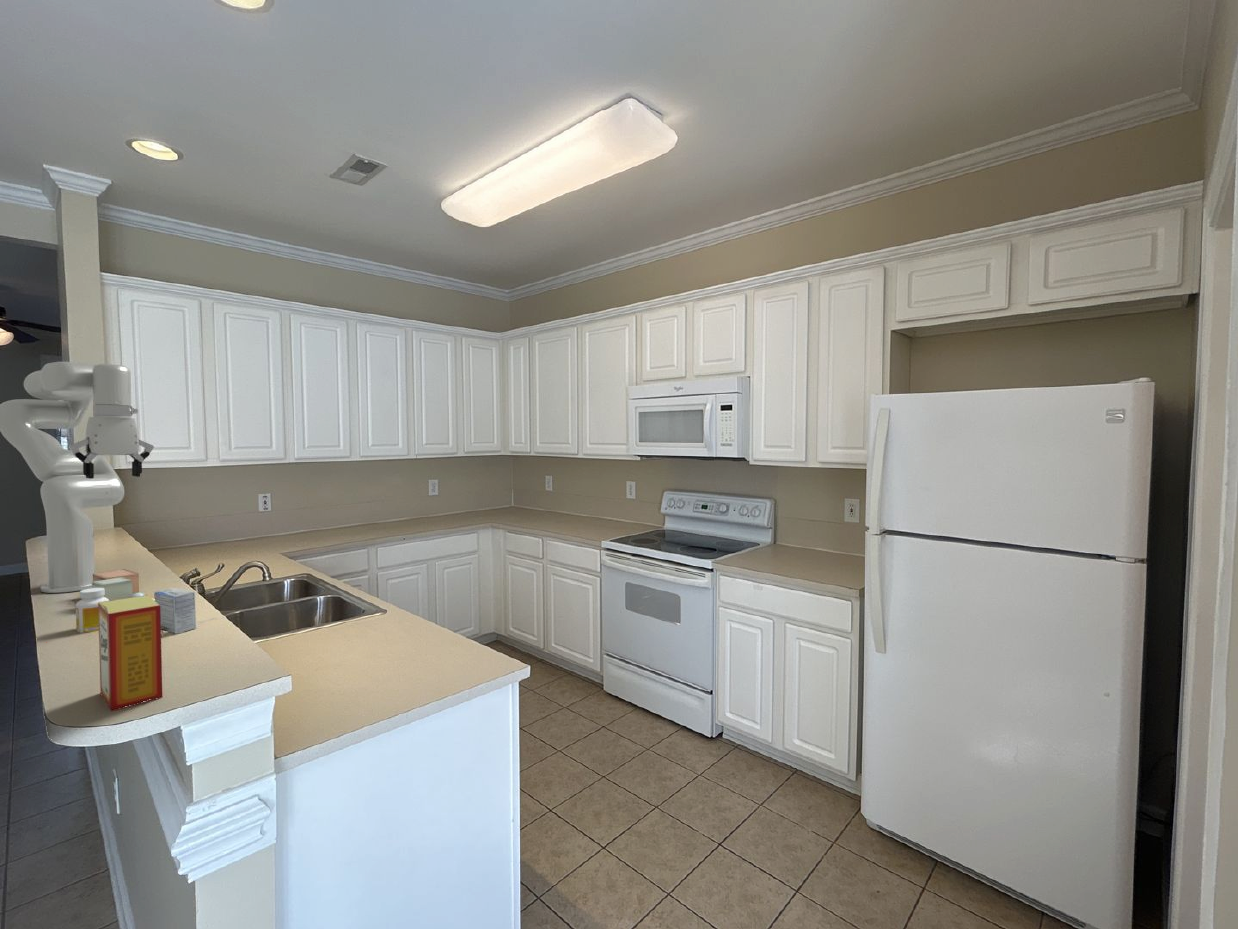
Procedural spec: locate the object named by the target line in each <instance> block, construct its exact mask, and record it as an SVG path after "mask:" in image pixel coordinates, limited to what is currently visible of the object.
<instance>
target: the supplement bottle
mask: <svg viewBox="0 0 1238 929" xmlns="http://www.w3.org/2000/svg"><path fill="white" fill-rule="evenodd" d="M103 595H105V590H104V588H89V589H84V590H79V599H81V598H82V600H80V601H79V602H77V603H76V604H75V618H76V619H75V620H76V621H75V623H76V624H75V626H76V632H77V633H92V632H93V633H94V632H99V618H98V602H105V601H109V600H108V599H107V598H105V597H103Z"/></svg>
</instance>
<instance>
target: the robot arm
mask: <svg viewBox="0 0 1238 929" xmlns="http://www.w3.org/2000/svg"><path fill="white" fill-rule="evenodd" d="M131 373H132V372H131V370H130V368H129V367H127V366H125V365H119V364H110V363H98V364H94V363H85V362H75V361H55V362H49V363H46V364H44V365H43V367H42V368H41V369H40V370H36V371H33V372H31V373H30V374H28V375H27V376H26V377H25V378H24V380H23V388H24V390H25V391H26V392H27V393H28V395H30V396H32V397H33V398H36V399H31V398H29V399H28V398H24V399H23V398H21V399H19V398H18V399H17V398H16V399H11V400H10V399H9V400H7V401H3V402H2V403H0V433H1V434H2V436H3V437H4V439H5V440H7V442H9V444H10V445H12V446H13V448H16V450H17V451H18V452H19V453H20V454H21V456H22V458H23V459H24V460H25V462H26V464H27V465H28V467H29V469H30V470H31V472H32V473H33V474H34V476H35V477H36V478H37V479H38V480H39V481H40V482H42V484H41V486H40V497H41V501H42V505H43V510H44V514H45V521H46V522H45V524H46V548H47V549H46V550H47V551H46V553H47V574H48V575H47V579H48V580H47V581H48V583H44V584H43V585H41V586H40V592H42V593H47V594H49V593H50V594H60V593H70V592H78V591H79V592H80V591H82V590H85V589H90V588H92V582H93V574H95V573H96V571H95V570H96V569H95V568H96V567H95V537H94V533H95V532H94V523H93V521H92V520H91V518H90V517H89V516H88V515H87V514H86V513H85V512H83V509H84V510H85V509H89V508H91V509H92V508H101V507H102V508H103V507H111V506H116V505H117V504H119V503H121V502H122V501H123V499H124V497H125V486H124V484H123V482H122V480H121V478H120V477H119V475H118V474H117V472H116V471H115V469H114V468H113V467H112V465H111V464H110V462H109V460H108V459H107V458H106V456H129V457H130V458H132V462H131V476H133V477H137V478H140V477H141V474H142V472H143V462H144V461H145V460H146V459H147V458H148V457H149V456H150V454H151V453H152V451H153V449H154V448H155V447H154V445H153V444H150V443H148V442H146V441H144V440H141V439H139V433H138V429H137V424H136V420H135V418H133V415H134V414H136V415H137V414H139V413H138V412H139V410H138V408H134V407H133V406H132V377H131V376H132V374H131ZM91 402H92V403H93V404H92V410H93V411H92V412H93V413H92V416H89V417H88V420H87V423H86V430H85V438H84V439H82V440H80V441H77V442H75V443H72V444H70V445H68V449H65V448H64V447H62V444H61V443H60V441H59V440H58V439H56V438H55V437H54V436H52V435H51V434H49V433H47V432H45V431H43V429H45V430H46V429H47V430H49V429H51V430H53V429H54V430H70V429H73V428H74V429H75V428H76V427H78V426H79V425H80V424H81V423H82V420H83V419H84V416H85V414H86V412H87V410H88V409H89V407H90V405H91ZM82 447H84V449H82V450H81V449H80V448H82ZM140 447H143V448H144V449H143V451H142V452H141V453H139V450H140Z"/></svg>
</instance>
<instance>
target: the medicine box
mask: <svg viewBox="0 0 1238 929" xmlns="http://www.w3.org/2000/svg"><path fill="white" fill-rule="evenodd" d="M153 595H154V597H153V598H154V601H155V602H157V603H158V604H159V605H160V611H161V627H164V628H161V631H162V632H166V633H167V632H168V633H170V634H174V635H178V634H181V633H185V632H189V631H192V630H193V631H194V630H195V629H197V614H196V611H197V610H196V609H197V608H196V592H195V591H194V590H193V591H192V590H188V589H185V588H179V587H171V588H165V589H161V590H158V591H154V594H153Z"/></svg>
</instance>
